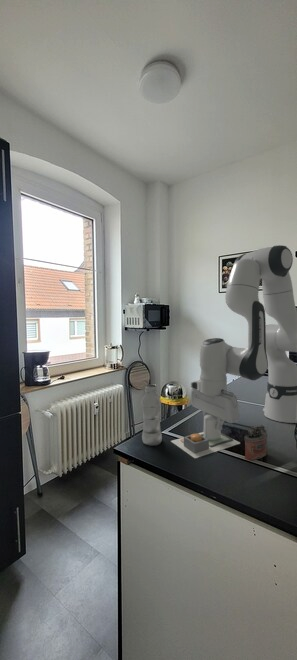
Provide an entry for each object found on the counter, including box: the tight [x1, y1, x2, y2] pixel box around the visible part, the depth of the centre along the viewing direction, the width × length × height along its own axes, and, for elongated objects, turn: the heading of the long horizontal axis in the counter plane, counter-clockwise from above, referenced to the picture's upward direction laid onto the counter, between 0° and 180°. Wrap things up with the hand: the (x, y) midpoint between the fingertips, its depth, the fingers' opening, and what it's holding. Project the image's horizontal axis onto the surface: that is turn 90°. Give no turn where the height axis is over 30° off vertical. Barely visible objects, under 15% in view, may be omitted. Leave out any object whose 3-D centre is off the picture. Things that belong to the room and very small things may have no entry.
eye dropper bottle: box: [203, 414, 222, 440], centre depth 92 cm, size 4×6×12 cm
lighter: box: [244, 424, 268, 461], centre depth 81 cm, size 8×3×10 cm, turn 117°
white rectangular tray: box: [170, 431, 241, 459], centre depth 90 cm, size 19×13×4 cm
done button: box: [190, 433, 202, 442], centre depth 86 cm, size 3×3×2 cm
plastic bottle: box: [140, 384, 163, 447], centre depth 91 cm, size 6×7×20 cm
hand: (213, 426), depth 92 cm, fingers open, 4 cm apart
